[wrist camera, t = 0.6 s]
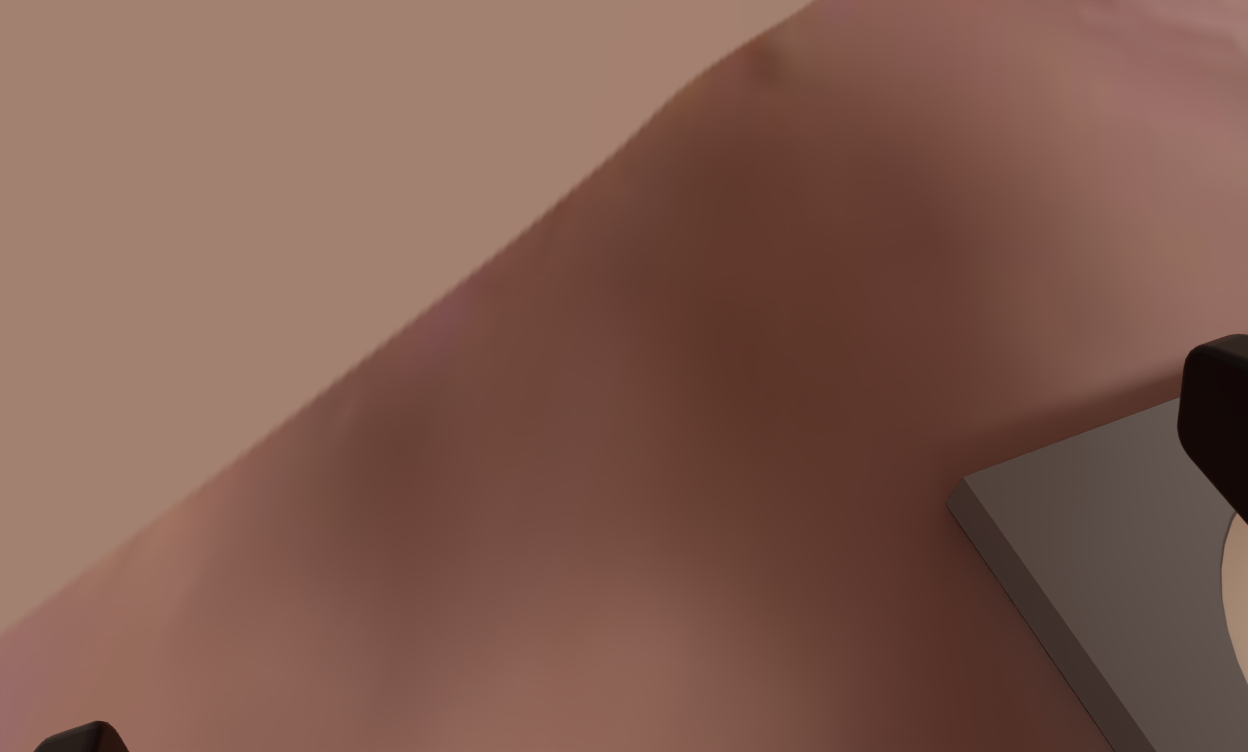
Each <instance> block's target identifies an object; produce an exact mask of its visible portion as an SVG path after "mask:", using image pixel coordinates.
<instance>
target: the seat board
mask: <svg viewBox="0 0 1248 752" xmlns="http://www.w3.org/2000/svg"><path fill="white" fill-rule="evenodd" d="M1179 403H1180V397H1179V398H1176V399H1173V400H1171V401H1168V402H1165V403H1162V404H1160V405H1157V406H1154V407H1152V408H1149V409H1146V410H1143V411H1141V412H1138V413H1135V414H1133V415H1130V416H1127V417H1124V418H1122V419H1119V420H1116V421H1114V422H1111V423H1108V424H1105V425H1103V426H1100V427H1097V428H1094V429H1092V430H1089V431H1086V432H1084V433H1081V434H1078V435H1075V436H1073V437H1070V438H1067V439H1065V440H1062V441H1059V442H1056V443H1054V444H1051V445H1048V446H1045V447H1043V448H1040V449H1037V450H1035V451H1032V452H1029V453H1026V454H1024V455H1021V456H1018V457H1016V458H1013V459H1010V460H1007V461H1005V462H1002V463H999V464H996V465H994V466H991V467H988V468H986V469H983V470H980V471H977V472H975V473H972V474H969V475H967V476H964V477H962V479H961V480H960V482H959V484H958V485H957V487H956V488H955V490H954V492H953V493H952V495H951V496H950V498H949V499H948V501H947V503H946V505H947V506H948V508H949V509H950V511H951V512H952V514H953V515H954V516H955V518H956V519H957V521H958V522H959V524H960V525H961V527H962V528H963V530H964V531H965V533H966V534H967V535H968V537H969V538H970V540H971V541H972V543H973V544H974V546H975V547H976V549H977V550H978V552H979V553H980V554H981V556H982V557H983V559H984V560H985V562H986V563H987V565H988V566H989V568H990V569H991V571H992V572H993V573H994V575H995V576H996V578H997V579H998V581H999V582H1000V584H1001V585H1002V587H1003V588H1004V590H1005V591H1006V593H1007V594H1008V595H1009V597H1010V598H1011V600H1012V601H1013V603H1014V604H1015V606H1016V607H1017V609H1018V610H1019V612H1020V613H1021V614H1022V616H1023V617H1024V619H1025V620H1026V622H1027V623H1028V625H1029V626H1030V628H1031V629H1032V631H1033V632H1034V633H1035V635H1036V636H1037V638H1038V639H1039V641H1040V642H1041V644H1042V645H1043V647H1044V648H1045V650H1046V651H1047V653H1048V654H1049V655H1050V657H1051V658H1052V660H1053V661H1054V663H1055V664H1056V666H1057V667H1058V669H1059V670H1060V672H1061V673H1062V674H1063V676H1064V677H1065V679H1066V680H1067V682H1068V683H1069V685H1070V686H1071V688H1072V689H1073V691H1074V692H1075V693H1076V695H1077V696H1078V698H1079V699H1080V701H1081V702H1082V704H1083V705H1084V707H1085V708H1086V710H1087V711H1088V712H1089V714H1090V715H1091V717H1092V718H1093V720H1094V721H1095V723H1096V724H1097V726H1098V727H1099V729H1100V730H1101V732H1102V733H1103V734H1104V736H1105V737H1106V739H1107V740H1108V742H1109V743H1110V745H1111V746H1112V748H1113V749H1114V751H1115V752H1248V525H1247V524H1246V523H1245V522H1244V520H1243V519H1242V518H1241V517H1240V516H1239V515H1238V513H1237V512H1236V511H1235V510H1234V509H1233V508H1232V506H1231V505H1230V504H1229V503H1228V502H1227V501H1226V499H1225V498H1224V497H1223V496H1222V495H1221V494H1220V493H1219V491H1218V490H1217V489H1216V488H1215V487H1214V486H1213V484H1212V483H1211V482H1210V481H1209V480H1208V479H1207V477H1206V476H1205V475H1204V474H1203V473H1202V472H1201V470H1200V469H1199V468H1198V467H1197V466H1196V465H1195V464H1194V462H1193V461H1192V460H1191V459H1190V458H1189V456H1188V455H1187V454H1186V452H1185V451H1184V449H1183V447H1182V445H1181V443H1180V440H1179V437H1178V432H1177V419H1178V411H1179Z"/></svg>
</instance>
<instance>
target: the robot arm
mask: <svg viewBox="0 0 1248 752" xmlns="http://www.w3.org/2000/svg"><path fill="white" fill-rule="evenodd" d="M1177 432H1178V437H1179V440H1180V443H1181V445H1182V447H1183V449H1184V451H1185V452H1186V454H1187V455H1188V456H1189V458H1190V459H1191V460H1192V461H1193V462H1194V464H1195V465H1196V466H1197V467H1198V468H1199V469H1200V470H1201V472H1202V473H1203V474H1204V475H1205V476H1206V477H1207V479H1208V480H1209V481H1210V482H1211V483H1212V484H1213V486H1214V487H1215V488H1216V489H1217V490H1218V491H1219V493H1220V494H1221V495H1222V496H1223V497H1224V498H1225V499H1226V501H1227V502H1228V503H1229V504H1230V505H1231V506H1232V508H1233V509H1234V510H1235V511H1236V512H1237V513H1238V515H1239V516H1240V517H1241V518H1242V519H1243V520H1244V522H1245V523H1246V524H1247V525H1248V335H1245V334H1233V335H1228V336H1225V337H1222V338H1219V339H1216V340H1213V341H1210V342H1207V343H1204V344H1201V345H1199V346H1197V347H1195V348H1194V349H1192V350H1191V351H1190V353H1189V354H1188V356H1187V358H1186V359H1185V363H1184V369H1183V377H1182V386H1181V394H1180V403H1179V411H1178V419H1177ZM34 752H129V751H128V749H127V747H126V746H125V744H124V742H123V741H122V739H121V737H120V736H119V734H118V733H117V731H116V730H115V729H114V728H113V727H112V726H111V725H110V724H109V723H108V722H104V721H93V722H91V723H88V724H85V725H82V726H79V727H76V728H73V729H70V730H67V731H64V732H61V733H58V734H55V735H53V736H51V737H49V738H47V739H45V740H44V741H43V742H42V743H41V744H40V745H39V746H38V747H37V748H36V749H35V751H34Z"/></svg>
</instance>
